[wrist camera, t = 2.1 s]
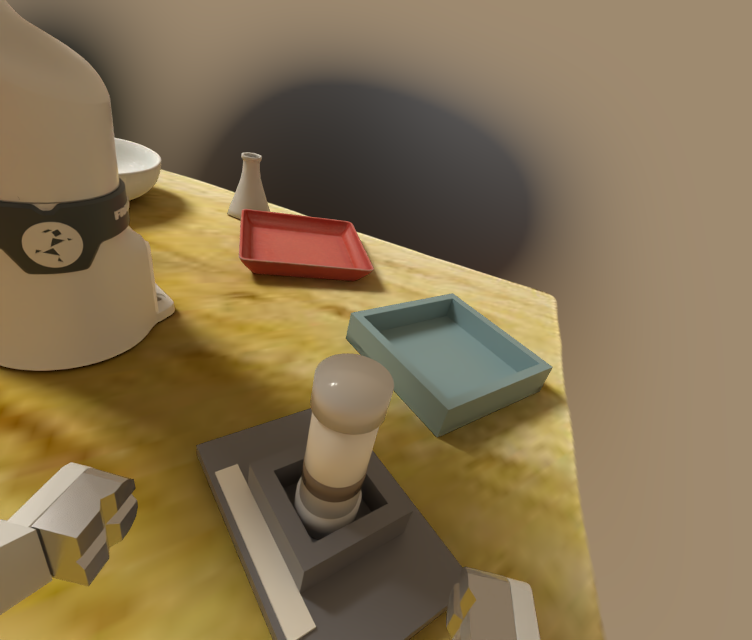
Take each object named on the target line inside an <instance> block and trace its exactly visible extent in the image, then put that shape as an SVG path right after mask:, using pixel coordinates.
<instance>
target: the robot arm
mask: <svg viewBox="0 0 752 640" xmlns="http://www.w3.org/2000/svg"><path fill="white" fill-rule="evenodd" d="M128 208H129V198H128V196H127V194H126V188H125V183H124V182H123V180H122V179H121V178H120V177H119V174H118V165H117V156H116V148H115V139H114V131H113V121H112V113H111V104H110V97H109V94H108V91H107V89H106V87H105V84H104V83H103V81H102V79H101V78H100V76H99V75H98V73H97V72H96V71H95V70H94V68H93V67H92V66H91V65H90V64H89V63H88V62H87V61H86V60H85V59H83V58H82V57H81V56H80V55H78V54H77V53H76V52H75V51H73V50H72V49H70V48H69V47H68V46H66V45H65V44H63V43H62V42H60V41H59V40H57V39H56V38H53V37H52V36H50V35H49V34H47V33H46V32H44V31H42V30H41V29H39V28H37V27H36V26H34V25H32V24H31V23H29V22H28V21H26V20H24V19H23V18H22V17H20V16H19V15H18V14H17V13H16V12H15V11H14V10H13V9H12V8H11V6H10V5H9V4H8V3H7V2H6V0H0V365H1V366H4V367H9V368H14V369H21V370H34V371H46V370H61V369H69V368H76V367H81V366H86V365H90V364H94V363H97V362H101V361H104V360H106V359H109V358H112V357H114V356H117V355H119V354H121V353H123V352H125V351H127V350H129V349H130V348H132V347H133V346H135V345H136V344H138V343H139V342H140V341H141V340H142V339H143V338H144V337H145V336H146V335H147V334H148V333H149V331H150V330H151V329H152V327H153V326H154V325H155V324H156V323H158V322H160V321H161V320H163V319H165V318H167V317H168V316H170V315H171V314H173V313H174V311H175V307H174V302H173V300H172V299H171V298H170V297H169V296H168V295H167V294H166V293H165V292H164V291H163V290H162V289H161V288H160V287H159V286H158V285H157V284H156V283H155V279H154V272H153V264H152V257H151V250H150V245H149V243H148V242H147V241H145V240H144V239H143V238H142V236H141V235H139V234H138V233H136V232H135V231H133V230H132V229H131V228H130V226H129V222H130V218H129V209H128ZM134 490H135V483H134V479H131V478H127V477H123V476H120V475H116V474H112V473H108V472H105V471H101V470H97V469H94V468H92V467H88V466H84V465H80V464H76V463H72V462H71V463H69V464H67V465H66V466H64V467H62V468H61V469H60V470H59V471H58V472H57V473H56V474H55V475H54V476H53V477H52V478H51V479H50V480H49V481H48V482H47V483H46V484H45V485H43V486H42V487H41V488H40V489H39V490H38V491H37V492H36V493H35V494H34V495H33V496H32V497H31V498H30V499H29V500H28V501H27V502H26V503H25V504H24V505H23V506H22V507H21V508H20V509H19V510H18V511H17V512H16V513H15V514H14V515H13V516H12V517H11V518H10V519H9V520H8V521H6V520H0V615H1V614H2V613H4V612H5V611H7V610H8V609H10V608H11V607H13V606H14V605H16V604H17V603H19V602H20V601H22V600H23V599H25V598H26V597H28V596H29V595H31V594H32V593H34V592H35V591H37V590H38V589H40V588H41V587H43V586H44V585H46V584H47V583H49V582H50V581H52V578H56V579H60V580H64V581H69V582H73V583H77V584H81V585H85V586H89V585H90V584H91V583H92V581H93V580H94V578H95V577H96V576H97V574H98V573H99V572H100V570H101V569H102V567H103V566H104V565H105V563H106V562H107V561H108V559H109V547H111V546H113V545H115V544H116V543H118V542H120V541H122V540H123V538H124V537H125V536H126V534H127V533H128V531H129V530H130V528H131V526H132V524H133V522H134V519H135V517H136V514H137V508H138V505H137V500H136V499H135V498H134V496H133V495H132V494H131V493H132V492H133V491H134ZM446 628H447V630H448V632H449V634H450V636H451V638H452V640H541V639H540V634H539V628H538V622H537V616H536V610H535V605H534V599H533V593H532V589H531V587H530V585H529V584H528V583H526V582H523V581H519V580H515V579H511V578H507V577H505V576H501V575H497V574H493V573H489V572H485V571H481V570H477V569H473V568H469V567H464V568H462V570H461V572H460V574H459V583H457V584H455V585H454V586H453V588H452V590H451V592H450V596H449V600H448V605H447V619H446Z"/></svg>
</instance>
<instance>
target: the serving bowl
mask: <svg viewBox="0 0 752 640" xmlns="http://www.w3.org/2000/svg"><path fill="white" fill-rule="evenodd" d="M114 139H115V148H116V156H117V165H118V174H119V177H120V178H121V179H122V180H123V182H124V183H125V188H126V194H127V196H128V198H129V200H132V199H135V198H138V197H140V196H142V195H144V194H145V193H147V192H148V191H149V190H150V189H151V188H152V187H153V186H154V185H155V183H156V182H157V180H158V177H159V174H160V169H161V158H160V156H159V155H158V154H157V153H156V152H154V151H153V150H151V149H149V148H147V147H145V146H142V145H139V144H137V143H133V142H130V141H126V140H122V139H118V138H114Z"/></svg>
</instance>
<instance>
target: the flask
mask: <svg viewBox="0 0 752 640" xmlns="http://www.w3.org/2000/svg"><path fill="white" fill-rule="evenodd" d="M241 157H242V159H243V170H242V175H241V179H240V182H239V185H238V187H237V190H236V192H235V195H234V197H233V200H232V202H231V205H230V207H229V210H228V213H227V214H228V215H231V216H233V217H236V218H238V219H240V220H241V211H242V210H243V209H251V210H259V211H268V212H270V210H269V206H268V203H267V200H266V197H265V193H264V190H263V186H262V182H261V178H260V169H259V167H260V161H261V158H262V156H261V155H258V154H255V153H249V152H246V153H242V156H241Z"/></svg>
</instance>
